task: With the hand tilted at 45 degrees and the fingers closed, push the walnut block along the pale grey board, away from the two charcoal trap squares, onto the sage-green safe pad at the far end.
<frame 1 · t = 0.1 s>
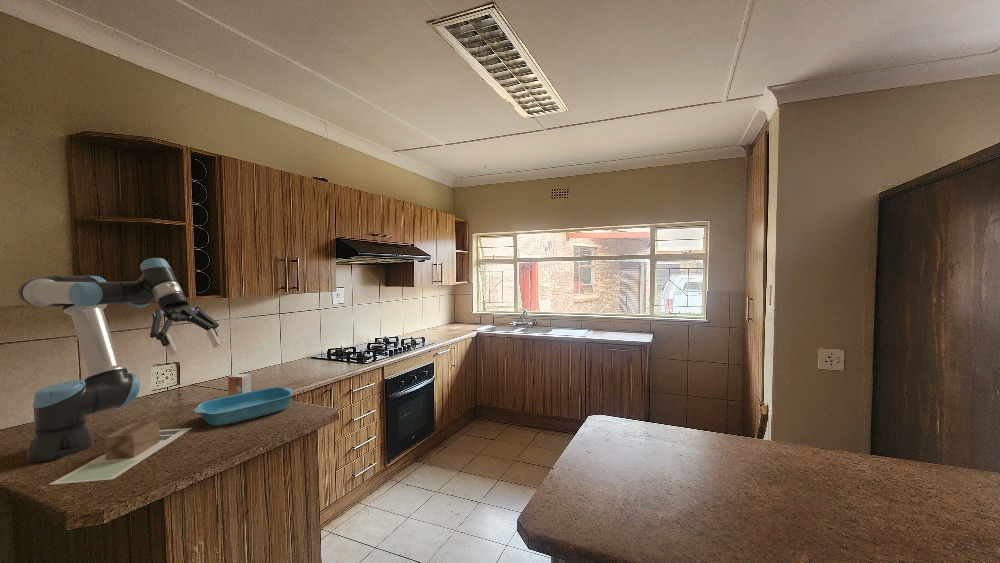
hand: (196, 349, 129), 36 cm above the countertop, tool tilted 35°, fingers open, 13 cm apart
walnut block: (133, 450, 131), point 1 cm above the countertop, touching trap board
small box: (239, 396, 192), on the countertop
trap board: (131, 453, 130), on the countertop
casserole dish: (247, 414, 167), on the countertop
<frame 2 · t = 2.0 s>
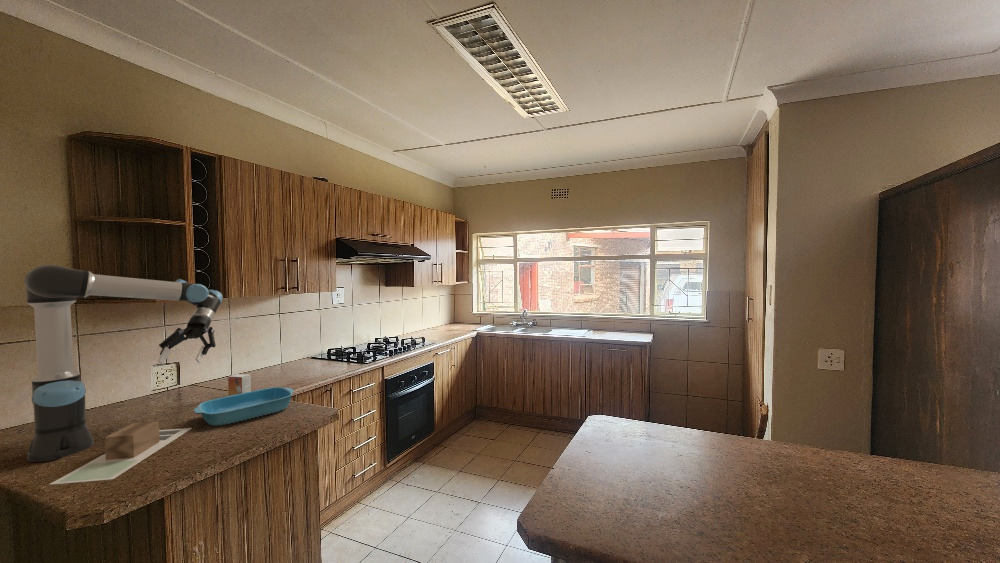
hand: (179, 361, 155), 26 cm above the countertop, tool tilted 45°, fingers open, 13 cm apart
nothing on the countertop moved.
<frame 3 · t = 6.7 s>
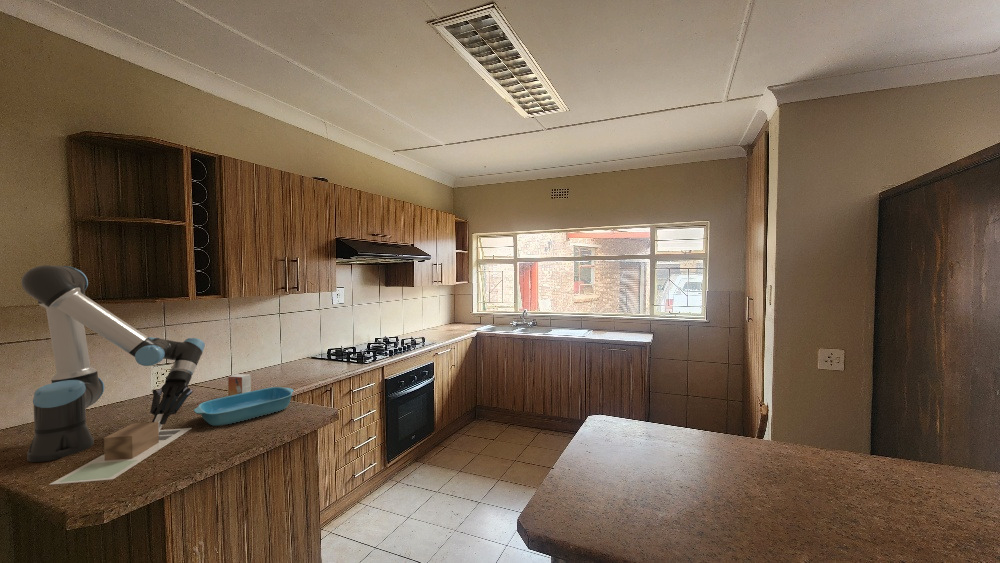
hand: (153, 433, 138), 4 cm above the countertop, tool tilted 45°, fingers closed
walnut block: (133, 451, 131), point 1 cm above the countertop, touching gripper, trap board
everything else where it was.
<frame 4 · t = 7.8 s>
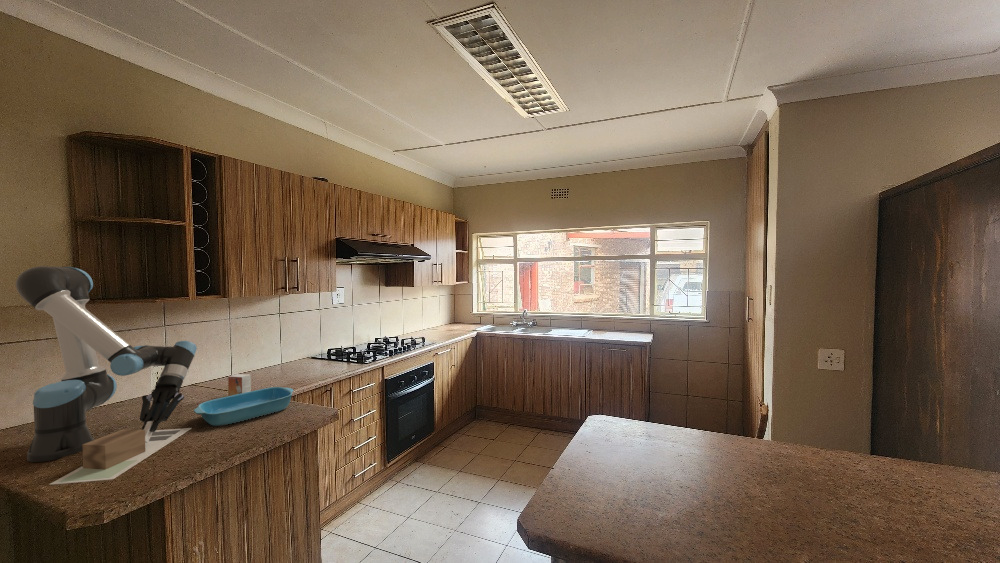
hand: (143, 441, 132), 3 cm above the countertop, tool tilted 40°, fingers closed
walnut block: (115, 459, 125), point 1 cm above the countertop, touching gripper, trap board
everything else where it was.
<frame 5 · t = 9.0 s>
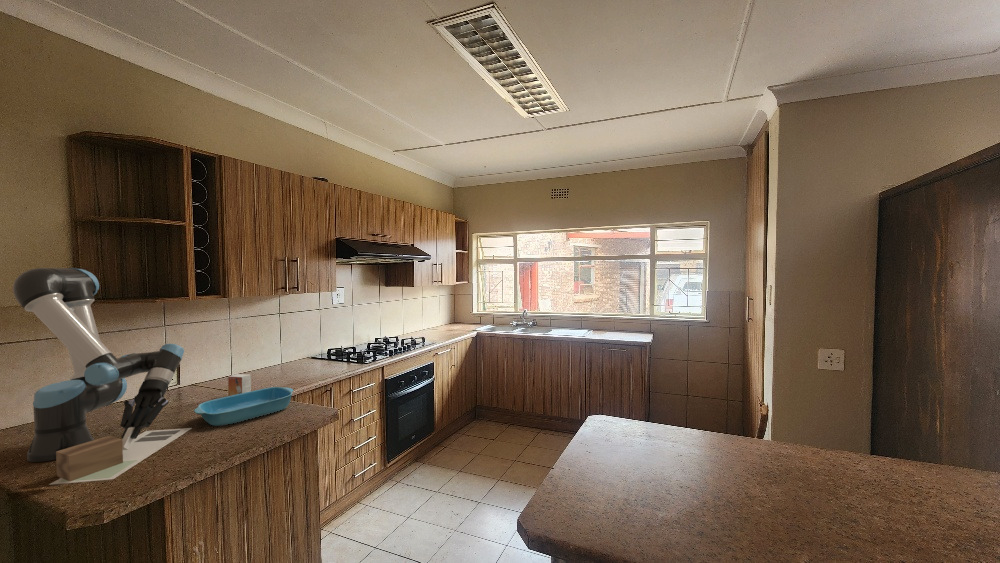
hand: (123, 448, 125), 4 cm above the countertop, tool tilted 45°, fingers closed
walnut block: (91, 469, 119), point 1 cm above the countertop, touching gripper
everything else where it was.
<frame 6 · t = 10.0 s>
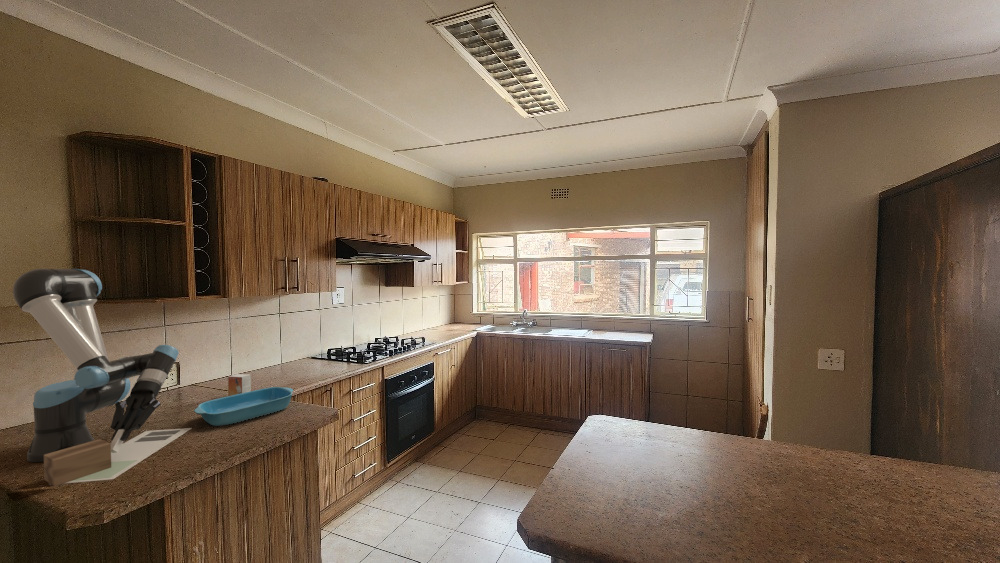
hand: (112, 451, 123), 5 cm above the countertop, tool tilted 45°, fingers closed
walnut block: (78, 473, 116), point 1 cm above the countertop, touching gripper, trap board
everything else where it was.
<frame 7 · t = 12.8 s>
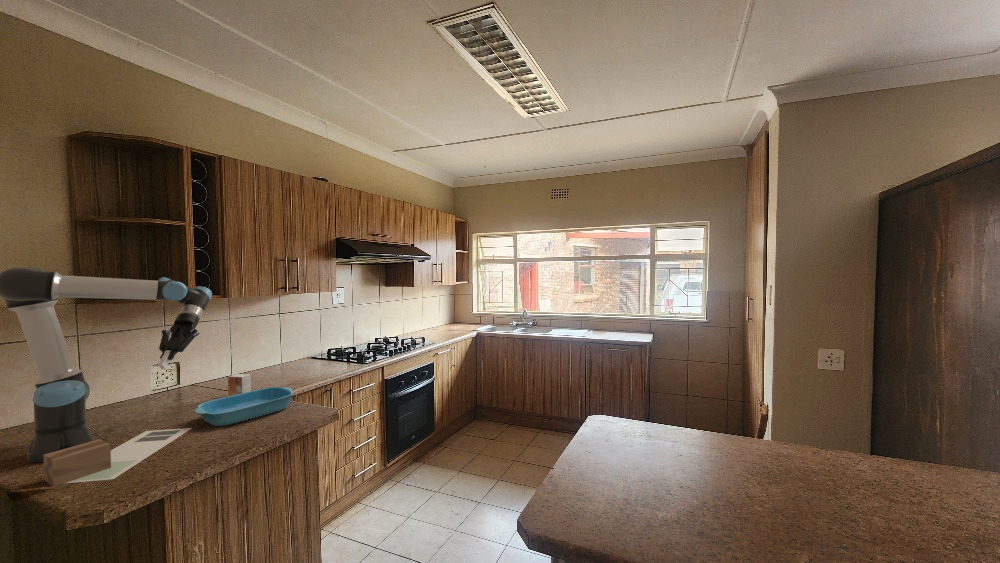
hand: (161, 366, 145), 26 cm above the countertop, tool tilted 45°, fingers closed
walnut block: (78, 473, 116), point 1 cm above the countertop, touching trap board
everything else where it was.
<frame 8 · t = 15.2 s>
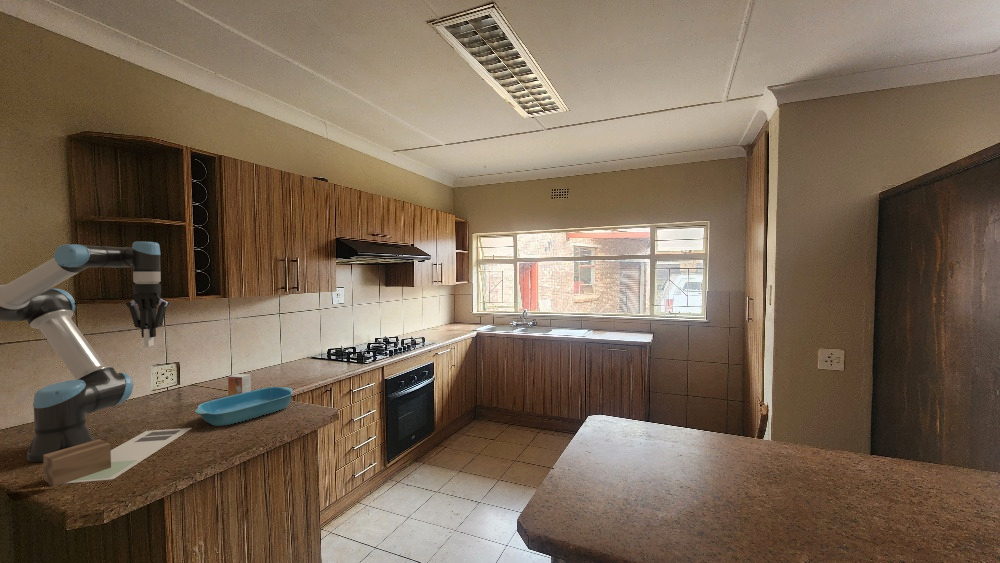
hand: (149, 346, 143), 34 cm above the countertop, tool pointing down, fingers closed
nothing on the countertop moved.
at the end: walnut block inside the target area (5.0 cm from its centre), point 0.6 cm above the countertop; walnut block tilted 0°; walnut block moved 15.3 cm from its start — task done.
